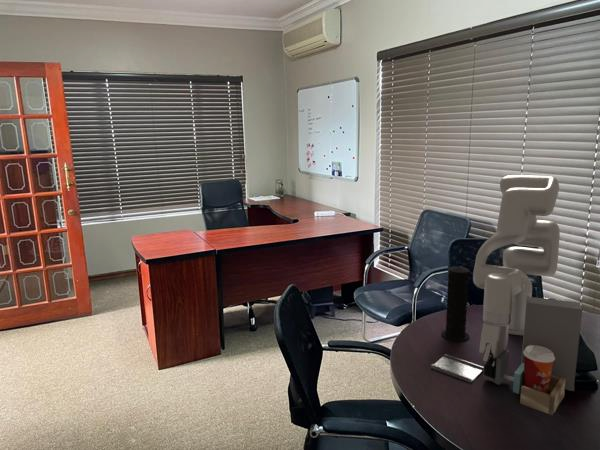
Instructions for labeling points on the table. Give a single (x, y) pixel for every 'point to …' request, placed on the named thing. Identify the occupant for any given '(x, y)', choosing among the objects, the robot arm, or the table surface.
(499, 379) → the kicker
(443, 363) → the track
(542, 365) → the paper cup
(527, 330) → the cassette tape recorder
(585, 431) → the table surface
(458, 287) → the handle grip
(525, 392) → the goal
